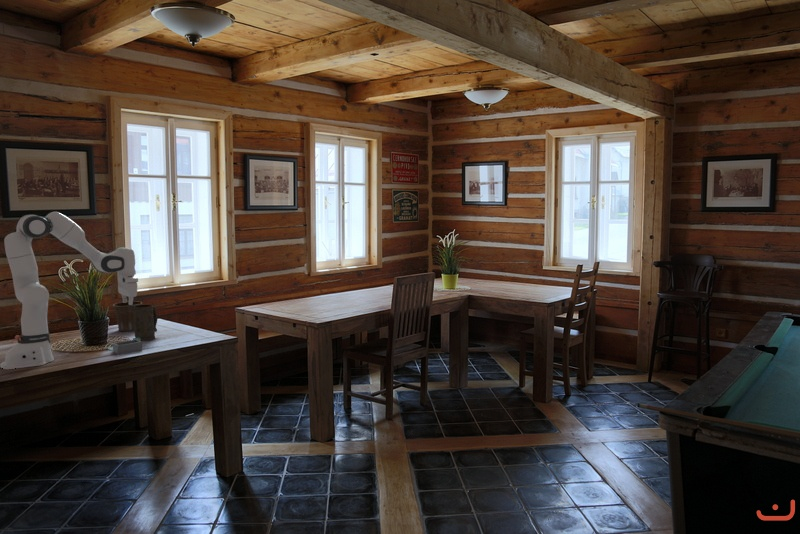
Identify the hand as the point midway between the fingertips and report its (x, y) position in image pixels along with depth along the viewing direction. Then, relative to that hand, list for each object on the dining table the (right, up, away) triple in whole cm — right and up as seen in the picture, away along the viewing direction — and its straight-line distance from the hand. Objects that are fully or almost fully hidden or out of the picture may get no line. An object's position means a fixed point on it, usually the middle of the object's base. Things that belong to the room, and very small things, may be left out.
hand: (127, 303), depth 330 cm
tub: (+4, -24, -9) cm, 27 cm away
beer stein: (+3, -21, +20) cm, 29 cm away
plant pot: (-19, -19, +47) cm, 54 cm away
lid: (-1, -24, -1) cm, 24 cm away
